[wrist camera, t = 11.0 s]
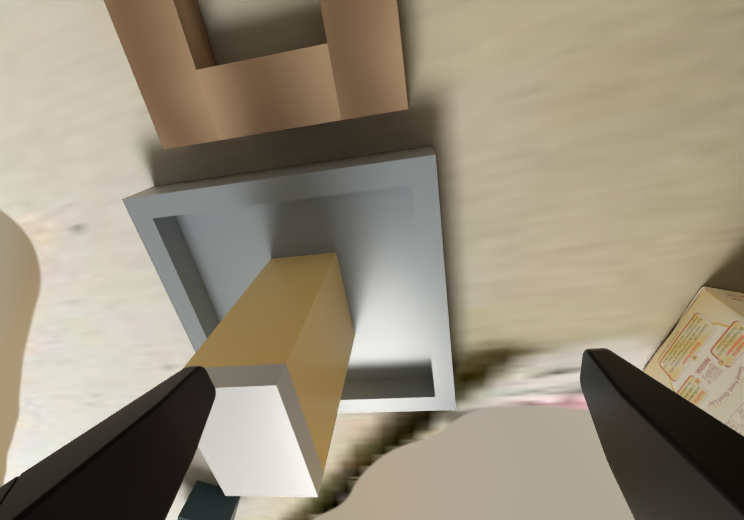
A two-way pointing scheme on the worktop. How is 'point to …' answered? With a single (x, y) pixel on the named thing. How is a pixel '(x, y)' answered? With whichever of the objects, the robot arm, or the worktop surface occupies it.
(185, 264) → the parts tray
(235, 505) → the watch
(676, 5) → the worktop surface
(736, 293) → the coffeecake box
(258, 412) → the tan rectangular block
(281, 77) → the brown wooden frame
